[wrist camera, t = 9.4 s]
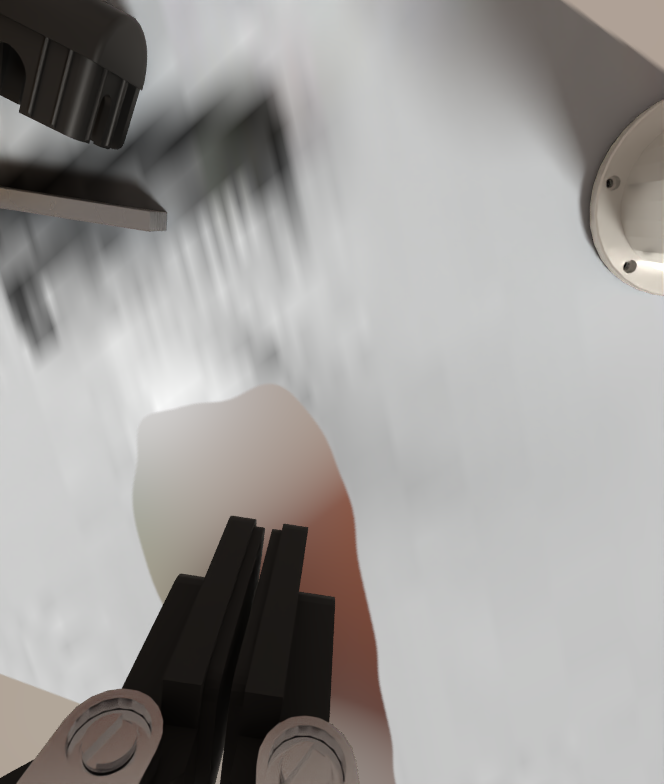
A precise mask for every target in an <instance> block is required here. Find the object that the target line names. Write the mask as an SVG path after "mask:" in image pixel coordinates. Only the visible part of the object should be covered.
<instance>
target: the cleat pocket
mask: <svg viewBox="0 0 664 784" xmlns="http://www.w3.org/2000/svg"><path fill="white" fill-rule="evenodd" d="M0 208H3V209H10V210H16V211H22V212H29V213H35V214H41V215H48V216H54V217H60V218H67V219H73V220H79V221H86V222H92V223H98V224H105V225H111V226H117V227H124V228H130V229H136V230H143V231H149V232H151V231H166V225H167V212H162V211H156V210H149V209H143V208H137V207H130V206H124V205H118V204H111V203H105V202H99V201H92V200H86V199H80V198H74V197H67V196H61V195H55V194H48V193H42V192H36V191H29V190H23V189H17V188H10V187H4V186H0Z"/></svg>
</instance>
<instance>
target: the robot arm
mask: <svg viewBox="0 0 664 784" xmlns="http://www.w3.org/2000/svg"><path fill="white" fill-rule="evenodd" d="M607 180H609V181H610V185H609V187H608V188H607V187H606V181H607ZM590 228H591V232H592V237H593V242H594V245H595V247H596V249H597V251H598V253H599V256H600V258H601V260H602V261H603V262H604V263H605V265H606V266H607V267H608V269H609V270H610V271H611V272H612V273H613V274H614V275H615V276H616V277H618V278H619V279H620V280H621V281H622V282H624V283H626V284H627V285H629V286H631V287H633V288H635V289H637V290H640V291H644V292H647V293H650V294H654V295H661V296H664V99H663V100H661V101H659V102H658V103H656V104H655V105H653V106H652V107H650V108H649V109H647V110H646V111H644V112H643V113H641V114H640V115H639V116H638V117H637V118H636V119H635V120H634V121H633V122H632V123H631V124H630V125H629V126H628V127H626V128H625V129H624V130H623V132H622V133H621V134H620V136H619V137H618V138H617V140H616V141H615V142H614V144H613V145H612V146H611V147H610V149H609V151H608V153H607V155H606V157H605V158H604V160H603V162H602V164H601V166H600V168H599V171H598V174H597V177H596V179H595V182H594V185H593V189H592V195H591V201H590ZM625 262H626V267H625V268H624V269H623V265H624V264H625ZM264 533H265V528H263V527H256V519H250V518H243V517H237V516H231V517H230V518H229V520H228V523H227V525H226V528H225V530H224V532H223V535H222V537H221V540H220V542H219V545H218V547H217V549H216V552H215V554H214V557H213V559H212V561H211V564H210V566H209V569H208V571H207V574H206V576H205V577H199V576H192V575H186V574H180V575H178V577H177V578H176V580H175V582H174V584H173V586H172V588H171V590H170V592H169V594H168V596H167V598H166V600H165V602H164V604H163V606H162V608H161V610H160V612H159V614H158V616H157V618H156V620H155V622H154V624H153V626H152V628H151V630H150V632H149V634H148V636H147V638H146V641H145V643H144V645H143V647H142V649H141V651H140V653H139V655H138V657H137V659H136V661H135V663H134V665H133V667H132V669H131V671H130V673H129V675H128V677H127V679H126V681H125V683H124V685H123V687H122V689H116V690H108V691H105V692H103V693H100V694H97V695H95V696H92V697H90V698H89V699H87V700H86V701H84V702H83V703H81V704H80V705H79V706H77V707H76V708H75V709H74V710H73V711H72V712H71V713H70V714H69V715H68V716H67V717H66V718H65V719H64V721H63V722H62V723H61V725H60V726H59V727H58V729H57V730H56V732H55V733H54V734H53V735H52V737H51V738H50V739H49V741H48V742H47V743H46V745H45V746H44V747H43V749H42V750H41V751H40V753H39V754H38V755H37V757H36V758H35V759H34V760H32V761H31V762H28V763H27V764H25V765H23V766H21V767H19V768H18V769H16V770H14V771H12V772H10V773H8V774H7V775H5V776H3V777H1V778H0V784H215V782H216V778H217V774H218V770H219V766H220V762H221V758H222V753H223V750H224V754H223V762H222V771H221V780H220V784H360V783H359V776H358V769H357V763H356V759H355V756H354V753H353V749H352V747H351V745H350V744H349V742H348V740H347V739H346V737H345V736H344V734H343V733H342V732H340V731H339V730H338V729H337V728H336V727H335V726H334V725H333V724H331V723H329V717H330V696H331V675H332V655H333V634H334V614H335V598H334V597H331V596H324V595H317V594H311V593H304V592H299V587H300V579H301V574H302V567H303V560H304V553H305V546H306V540H307V533H308V527H302V526H296V525H289V524H283V528H282V530H276V529H272V532H271V536H270V540H269V544H268V548H267V552H266V556H265V559H264V563H263V567H262V571H261V574H260V579H259V573H260V564H261V557H262V548H263V541H264ZM258 581H259V582H258Z"/></svg>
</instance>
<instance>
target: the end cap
mask: <svg viewBox="0 0 664 784" xmlns="http://www.w3.org/2000/svg"><path fill="white" fill-rule="evenodd" d="M146 67H147V46H146V40H145V36H144V32H143V30H142V28H141V26H140V24H139V23H138V22H137V20H136V19H135V18H134V17H132V16H130V15H129V14H127V13H125V12H123V11H121V10H119V9H117V8H116V7H114V6H112V5H110V4H108V3H106V2H104V1H102V0H0V95H1V96H3V97H5V98H7V99H9V100H11V101H13V102H15V103H17V104H19V105H20V109H19V113H21V114H23V115H25V116H27V117H29V118H31V119H33V120H36V121H38V122H40V123H42V124H44V125H46V126H48V127H50V128H52V129H54V130H56V131H58V132H60V133H62V134H64V135H66V136H68V137H71V138H73V139H76V140H78V141H82V142H85V143H89V142H90V140H92V141H94V143H93V144H95V145H97V146H99V147H103V148H106V149H110V148H112V149H120V148H121V147H122V146H123V144H124V141H125V138H126V135H127V131H128V128H129V125H130V121H131V118H132V115H133V111H134V108H135V105H136V101H137V98H138V95H139V91H140V90H142V89H143V85H144V81H145V75H146Z"/></svg>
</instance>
